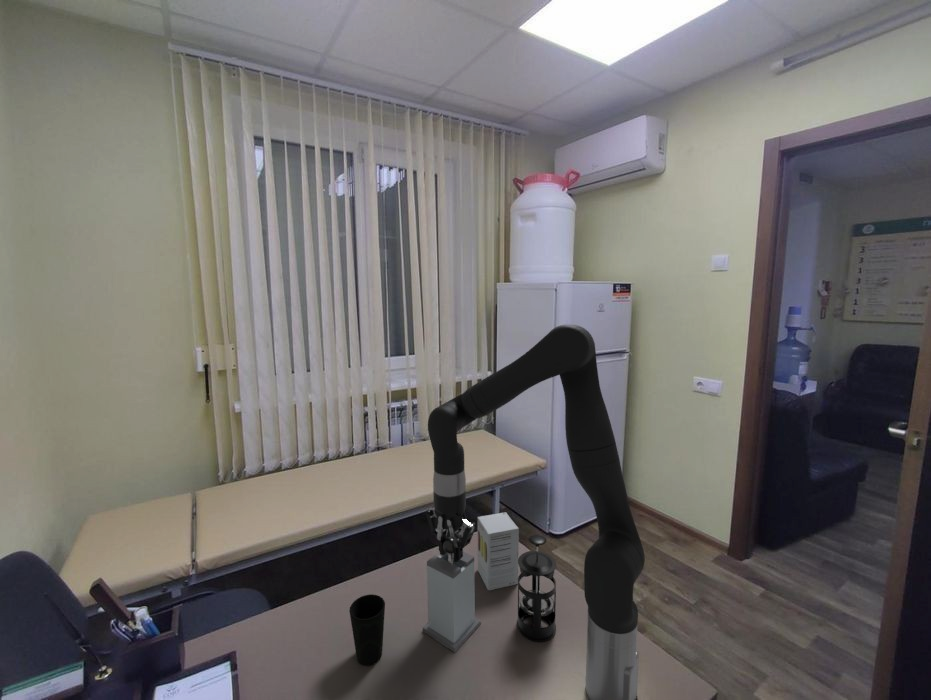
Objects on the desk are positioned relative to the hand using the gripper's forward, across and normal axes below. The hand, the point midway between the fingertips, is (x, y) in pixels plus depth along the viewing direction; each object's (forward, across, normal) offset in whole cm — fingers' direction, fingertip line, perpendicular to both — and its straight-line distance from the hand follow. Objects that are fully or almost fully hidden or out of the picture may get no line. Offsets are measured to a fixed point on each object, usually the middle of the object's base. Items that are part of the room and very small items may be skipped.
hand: (450, 556), depth 97 cm
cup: (+19, +10, +17) cm, 27 cm away
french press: (+19, -16, -13) cm, 28 cm away
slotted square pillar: (+19, 0, 0) cm, 19 cm away
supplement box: (+19, +1, -22) cm, 29 cm away
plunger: (+12, 0, 0) cm, 12 cm away
